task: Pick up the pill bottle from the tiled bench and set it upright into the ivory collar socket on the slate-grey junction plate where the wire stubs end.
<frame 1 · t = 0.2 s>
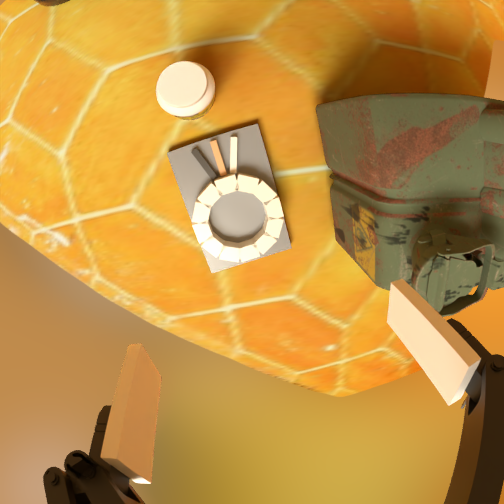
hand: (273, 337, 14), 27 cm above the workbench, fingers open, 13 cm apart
junction plate: (232, 200, 38), on the workbench
pill bottle: (191, 98, 32), on the workbench
fuel can: (413, 157, 39), on the workbench
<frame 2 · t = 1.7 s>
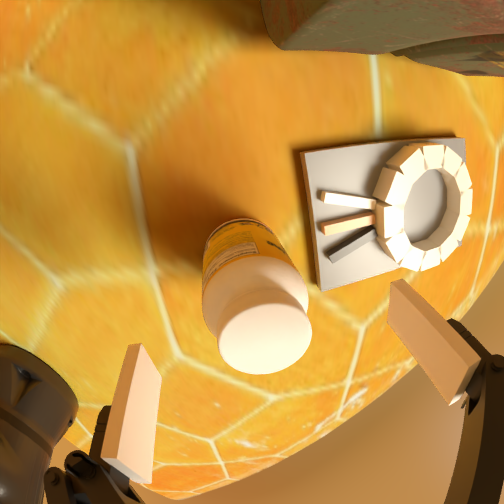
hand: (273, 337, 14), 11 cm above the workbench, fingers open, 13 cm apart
junction plate: (398, 204, 23), on the workbench
pill bottle: (241, 251, 23), on the workbench
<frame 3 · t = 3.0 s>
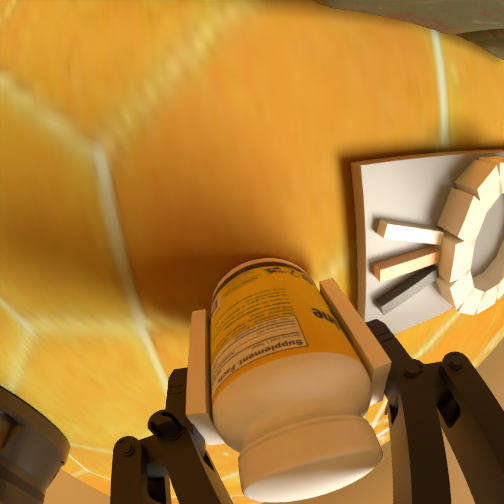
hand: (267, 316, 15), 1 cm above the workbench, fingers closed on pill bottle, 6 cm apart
junction plate: (458, 232, 16), on the workbench
pill bottle: (263, 299, 17), on the workbench, touching gripper
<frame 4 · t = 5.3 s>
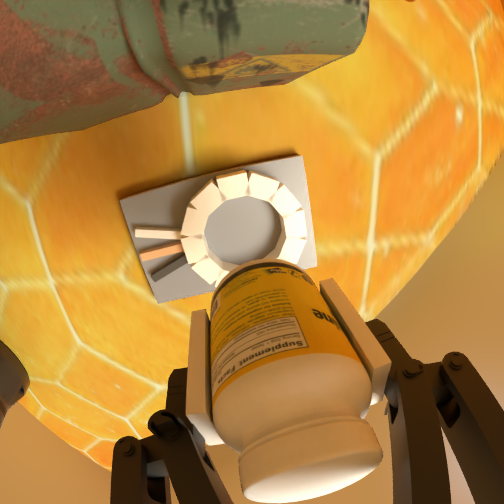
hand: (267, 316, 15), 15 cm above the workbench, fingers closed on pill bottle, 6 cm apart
junction plate: (222, 230, 29), on the workbench
pill bottle: (263, 300, 17), point 13 cm above the workbench, touching gripper
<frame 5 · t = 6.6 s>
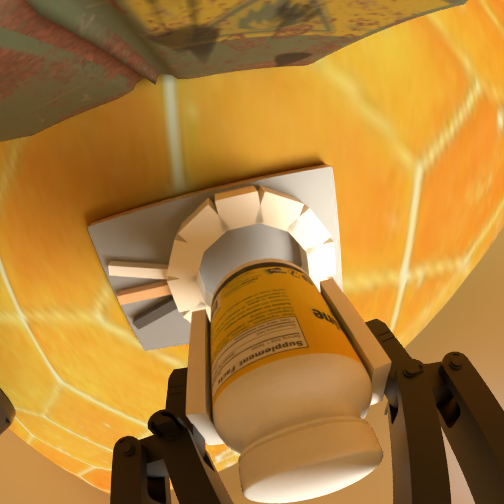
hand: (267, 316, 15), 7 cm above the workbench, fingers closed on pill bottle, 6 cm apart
junction plate: (223, 264, 22), on the workbench
pill bottle: (263, 300, 17), point 6 cm above the workbench, touching gripper
when the fingers open (5 cm above the workbench, at t = 7.4 s): pill bottle drops 2 cm, resting on junction plate.
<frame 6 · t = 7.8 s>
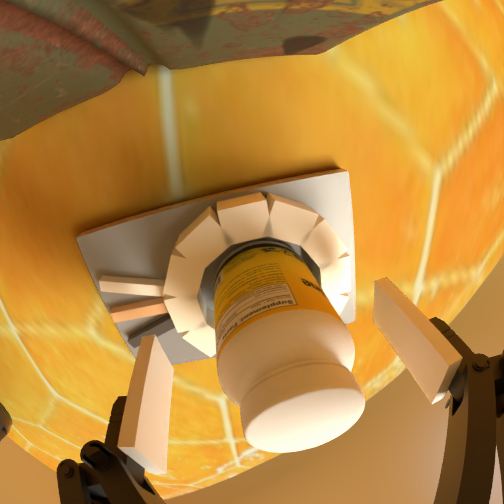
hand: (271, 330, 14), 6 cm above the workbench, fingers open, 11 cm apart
junction plate: (226, 278, 20), on the workbench
pill bottle: (260, 279, 19), point 1 cm above the workbench, touching junction plate
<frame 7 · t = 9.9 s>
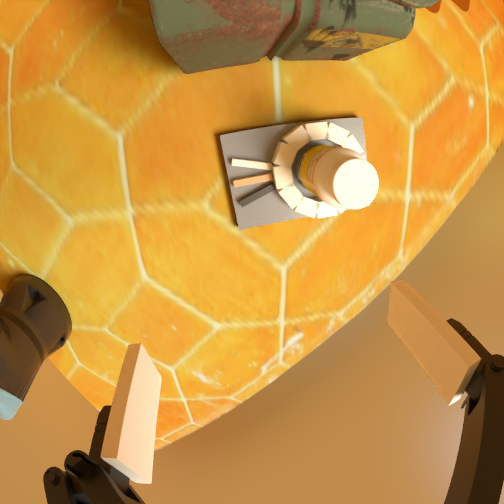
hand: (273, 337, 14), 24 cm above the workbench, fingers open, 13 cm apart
junction plate: (299, 169, 34), on the workbench
pill bottle: (319, 168, 33), point 1 cm above the workbench, touching junction plate
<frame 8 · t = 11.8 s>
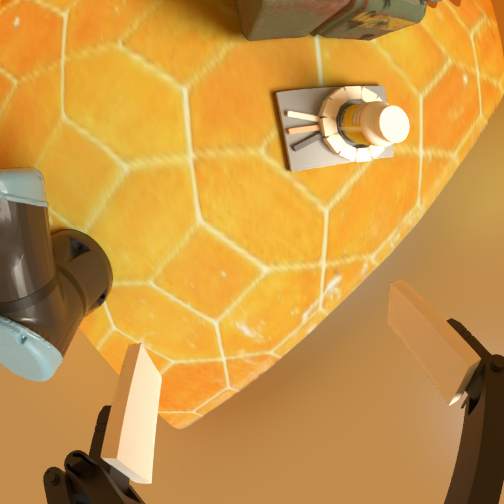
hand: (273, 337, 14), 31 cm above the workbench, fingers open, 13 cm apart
junction plate: (338, 124, 39), on the workbench
pill bottle: (354, 123, 38), point 1 cm above the workbench, touching junction plate
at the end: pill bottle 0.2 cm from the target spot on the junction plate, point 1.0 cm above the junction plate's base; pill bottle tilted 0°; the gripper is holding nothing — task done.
